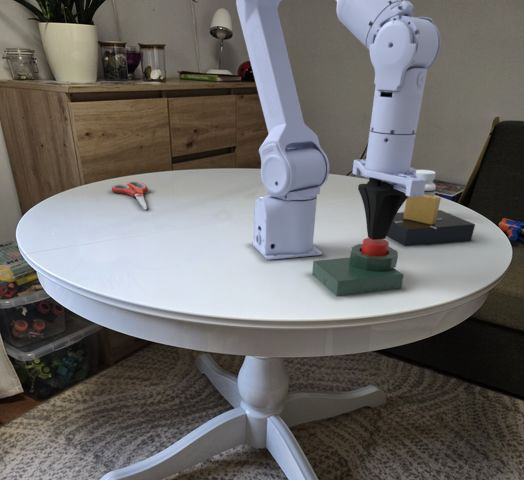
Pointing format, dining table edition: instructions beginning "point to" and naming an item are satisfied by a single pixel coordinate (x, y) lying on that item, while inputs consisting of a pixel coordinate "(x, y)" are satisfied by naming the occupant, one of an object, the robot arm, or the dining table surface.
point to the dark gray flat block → (430, 230)
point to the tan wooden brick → (422, 209)
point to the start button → (375, 247)
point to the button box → (359, 273)
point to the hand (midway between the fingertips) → (376, 238)
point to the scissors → (133, 191)
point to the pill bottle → (427, 181)
